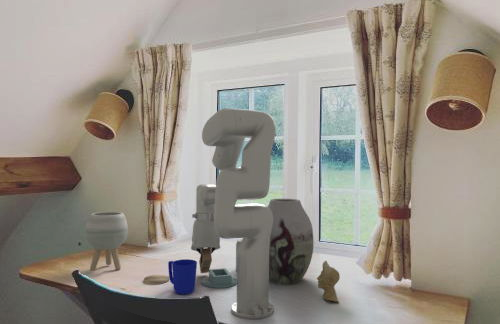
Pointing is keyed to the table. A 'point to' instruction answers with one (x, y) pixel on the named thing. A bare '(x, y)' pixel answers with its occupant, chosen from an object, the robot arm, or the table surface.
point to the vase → (289, 241)
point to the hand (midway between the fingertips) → (205, 264)
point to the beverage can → (237, 248)
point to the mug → (183, 275)
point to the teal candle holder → (219, 279)
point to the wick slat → (205, 260)
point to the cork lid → (156, 279)
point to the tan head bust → (328, 282)
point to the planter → (106, 236)
